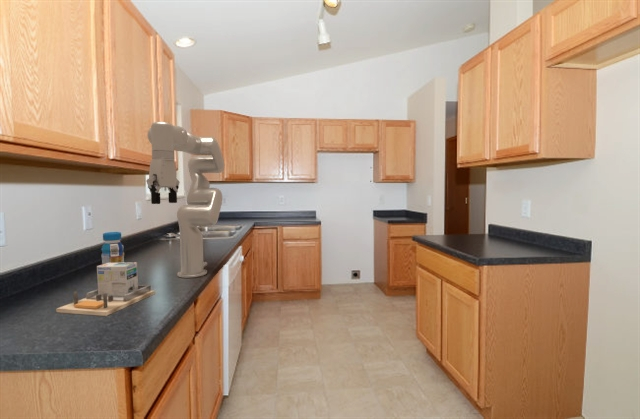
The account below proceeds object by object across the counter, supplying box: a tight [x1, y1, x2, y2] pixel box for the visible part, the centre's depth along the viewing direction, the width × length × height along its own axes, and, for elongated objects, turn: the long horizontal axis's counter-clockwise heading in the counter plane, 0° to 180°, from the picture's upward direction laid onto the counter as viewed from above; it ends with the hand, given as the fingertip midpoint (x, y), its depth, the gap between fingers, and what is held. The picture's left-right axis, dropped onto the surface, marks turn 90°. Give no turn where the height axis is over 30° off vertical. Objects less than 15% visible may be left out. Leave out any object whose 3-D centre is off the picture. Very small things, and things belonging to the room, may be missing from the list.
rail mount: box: [56, 284, 156, 317], centre depth 112 cm, size 22×18×6 cm
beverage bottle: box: [100, 231, 125, 265], centre depth 143 cm, size 8×8×20 cm
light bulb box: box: [96, 261, 139, 297], centre depth 116 cm, size 11×7×11 cm, turn 89°
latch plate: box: [74, 301, 104, 309], centre depth 105 cm, size 4×8×1 cm, turn 80°
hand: (164, 203), depth 122 cm, fingers open, 9 cm apart
